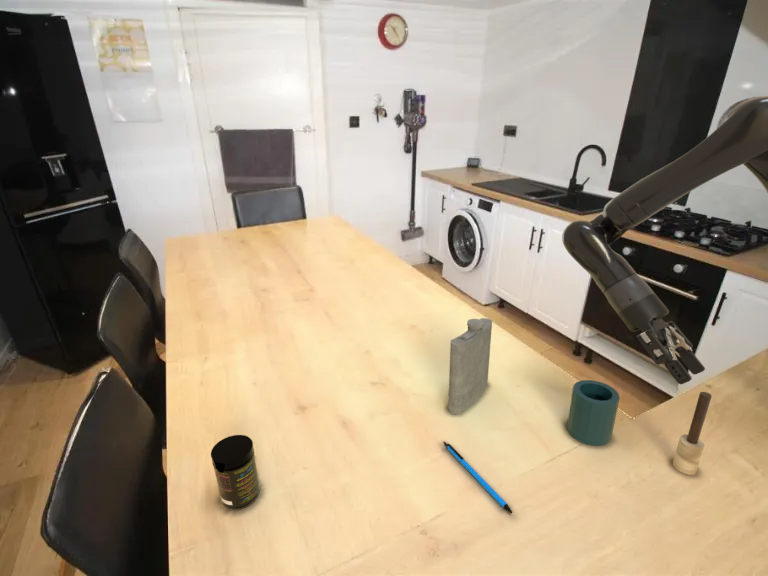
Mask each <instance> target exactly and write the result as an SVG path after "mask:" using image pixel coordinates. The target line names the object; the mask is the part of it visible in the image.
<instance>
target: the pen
mask: <svg viewBox="0 0 768 576" xmlns="http://www.w3.org/2000/svg"><path fill="white" fill-rule="evenodd" d="M443 445H445V447H446V449H447V450H448V451H449V452H450V453H451V454H452V455H453V456H454V458H455V459H456V460H457V461H458V462H459V463H460V464H461V465H462V466H463V467H464V468H465V469H466V470H467V471H468V473H470V474H471V476H473V478H475V480H476V481H477V482H478V483H479V484H480V485H481V486H482V487H483V488H484V489H485V490H486V491H487V492H488V493H489V495H490V496H492V497H493V499H495V501H496V502H497V503H498V504H499V505H500V506H501V507H502V508H503V509H504V510H506V511H507V512H509V514H512V515H513V514H514V513H513V511H512V509H511V507H510V505H509V504H508V503H507V502H506V501H505V500H504V498H502V497H501V496H500V495H499V494H498V493H497V492H496V491H495V490H494V489H493V487H492V486H491V485H490V484H489V483H487V482H486V480H485V479H484V478H483V477H482V476H481V475H480V474H479V473H478V472H477V471H476V470H475V469H474V468H473V467H472V466H471V465H470V464H469V462H467V461H466V460H465V459H464V457H463V455H461V454H460V453H459V452H458V451H457V450H456V449H455V448H454V447H453V446H452V445H451V444H450V443H447V442H446V441H443Z"/></svg>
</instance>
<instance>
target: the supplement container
mask: <svg viewBox="0 0 768 576" xmlns="http://www.w3.org/2000/svg"><path fill="white" fill-rule="evenodd" d="M210 457H211V463H212V466H213V470H214V475H215V479H216V484H217V489H218V492H219V497H220V501H221V504H222V505H223V506H224V507H225V508H227V509H230V510H241V509H244V508H246V507H248V506H250V505H251V504H253V502H255V501H256V499H257V498H258V497H259V495H260V492H261V484H260V478H259V477H260V476H259V472H258V467H257V461H256V456H255V448H254V443H253V439H252V438H251V437H250V436H248V435H245V434H233V435H230V436H227V437H224V438H222V439H221V440H219V441H218V442H216V443H215V445H214V446H213V448H212V449H211V451H210Z"/></svg>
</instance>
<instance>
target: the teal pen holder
mask: <svg viewBox="0 0 768 576" xmlns="http://www.w3.org/2000/svg"><path fill="white" fill-rule="evenodd" d="M619 403H620V394H619V392H618V391H617V390H616V389H615V388H614V387H612V386H610V385H609V384H607V383H604V382H601V381H597V380H593V379H583V380H579V381H576V382H575V383H574V384H573V385H572V393H571V398H570V405H569V410H568V416H567V425H566V429H567V432H568V433H569V435H570V436H571V437H572V438H574V439H575V440H576V441H577V442H580V443H582V444H584V445H587V446H593V447H594V446H595V447H602V446H607V444H609V443H610V442H611V439H612V436H613V433H614V427H615V422H616V417H617V414H618V413H617V412H618V408H619Z"/></svg>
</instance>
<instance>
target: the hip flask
mask: <svg viewBox="0 0 768 576" xmlns="http://www.w3.org/2000/svg"><path fill="white" fill-rule="evenodd" d="M466 327H467V330H466V331H465V332H463V333H462V334H460V335H458V336H456V337H455V338H454V337H453V338H452V339H451V340H450V343H449V344H450V347H449V372H448V373H449V375H448V379H449V380H448V402H447V403H448V404H447V411H448V412H449V413H450V414H452V415H461V414H462V413H463V412H465V411H466V410H468V409H469V408H470V407H471V406H473V405H474V404H475V403H476V402H477V401H478V400H479V398H480V397H482V395H483V394H484V393H485V391H486V389H487V388H488V384H489V383H488V381H489V368H490V355H491V343H492V328H493V320H491V319H490V318H486V317H483V318H470V319H468V320H467V321H466Z"/></svg>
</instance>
